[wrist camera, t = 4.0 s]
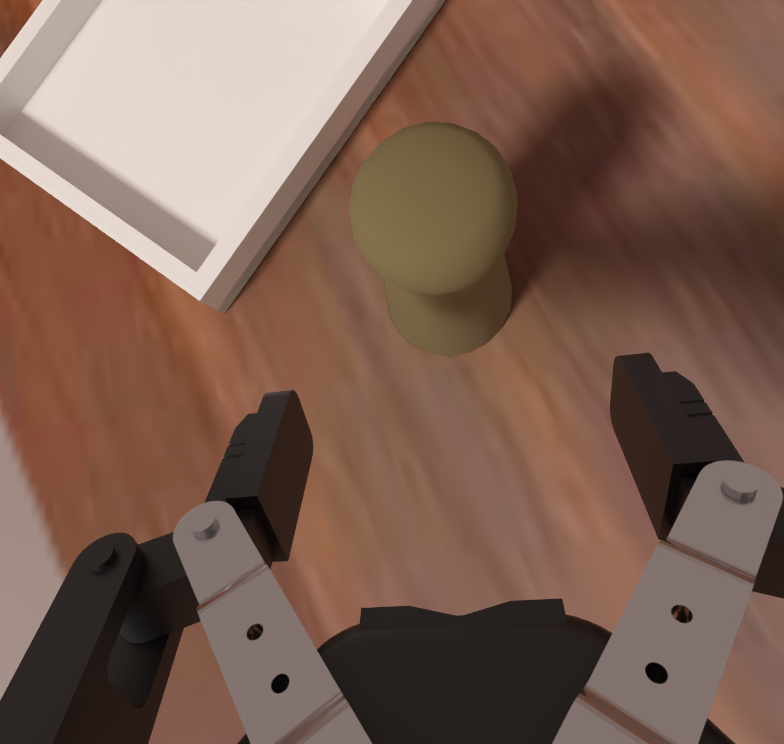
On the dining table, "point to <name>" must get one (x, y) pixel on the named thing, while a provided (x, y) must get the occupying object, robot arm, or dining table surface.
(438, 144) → the olive pawn figure
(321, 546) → the dining table surface
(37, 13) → the tray
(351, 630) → the robot arm
